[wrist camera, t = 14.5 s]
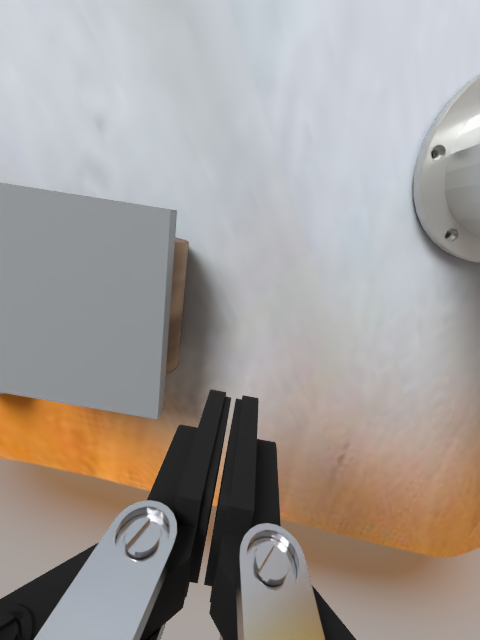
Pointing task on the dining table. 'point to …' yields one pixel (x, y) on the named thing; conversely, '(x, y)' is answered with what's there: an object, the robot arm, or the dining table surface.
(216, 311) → the dining table surface
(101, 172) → the dining table surface
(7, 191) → the slab
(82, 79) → the dining table surface
